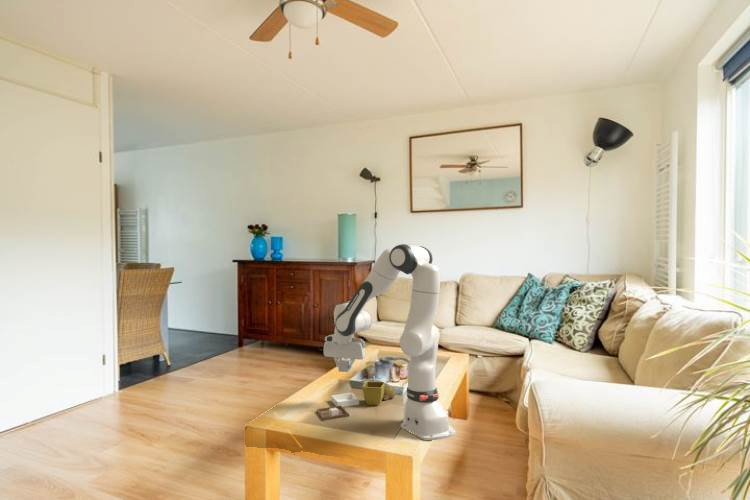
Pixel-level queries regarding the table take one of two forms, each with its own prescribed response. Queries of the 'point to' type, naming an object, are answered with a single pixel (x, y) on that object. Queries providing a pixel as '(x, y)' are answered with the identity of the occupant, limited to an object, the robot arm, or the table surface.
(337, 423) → the table surface
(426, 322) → the robot arm
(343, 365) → the pebble
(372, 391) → the flower pot
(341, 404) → the grey bin
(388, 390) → the seashell
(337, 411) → the small pebble
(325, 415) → the gravel tray
